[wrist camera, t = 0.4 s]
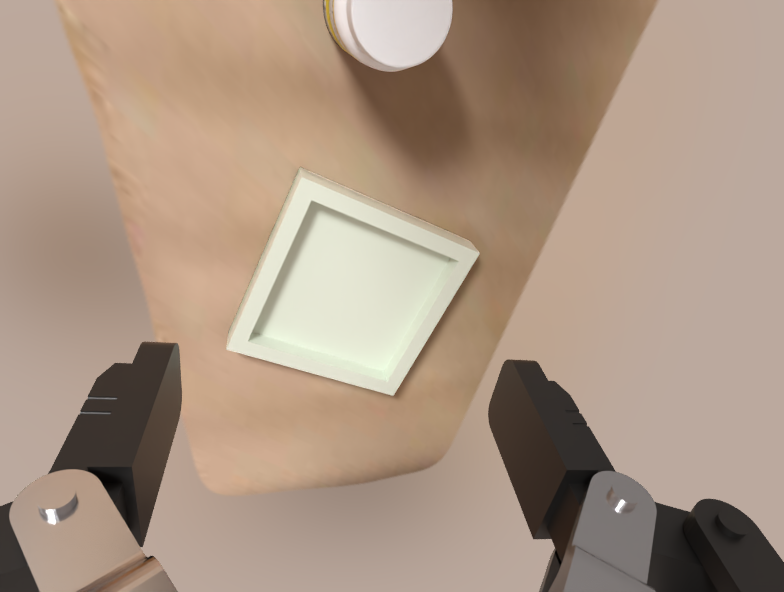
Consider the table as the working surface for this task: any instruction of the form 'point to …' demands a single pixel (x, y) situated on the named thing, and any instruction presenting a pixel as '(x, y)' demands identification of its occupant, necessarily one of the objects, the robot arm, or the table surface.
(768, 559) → the robot arm
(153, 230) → the table surface
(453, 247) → the tray
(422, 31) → the supplement bottle
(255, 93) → the table surface
